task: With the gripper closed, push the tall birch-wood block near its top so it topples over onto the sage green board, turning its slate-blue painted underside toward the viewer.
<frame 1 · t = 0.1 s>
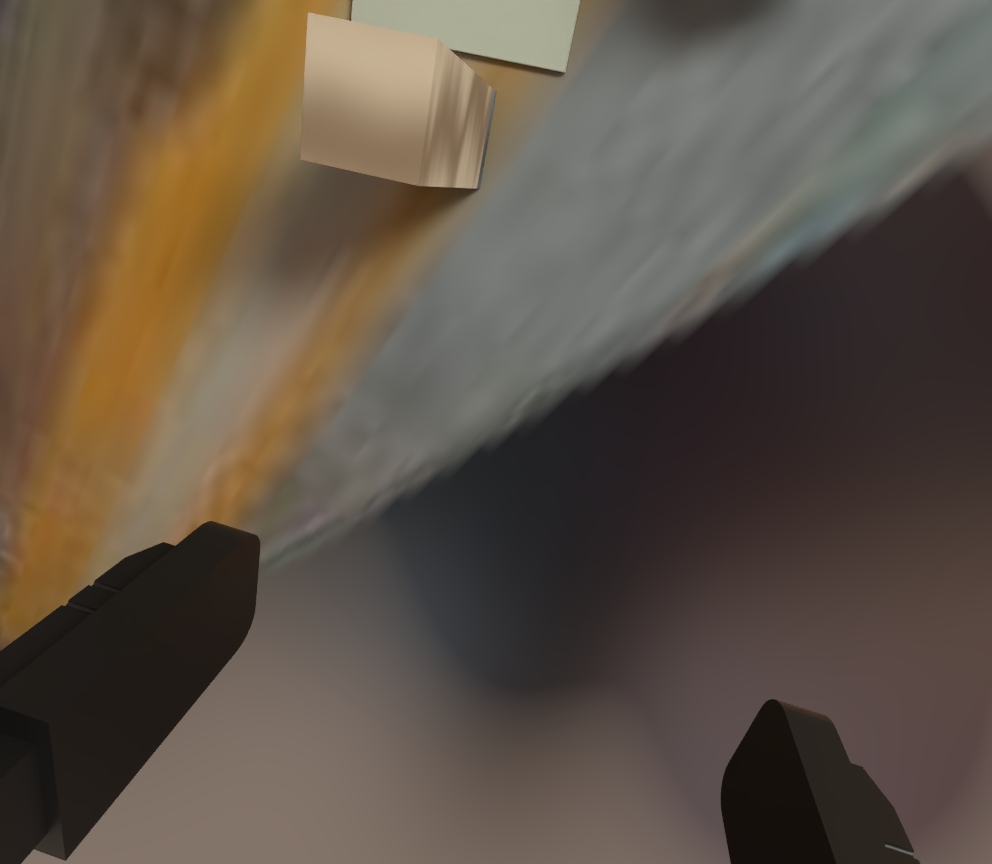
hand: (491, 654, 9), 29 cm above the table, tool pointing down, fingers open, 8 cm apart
birch block: (445, 132, 33), on the table
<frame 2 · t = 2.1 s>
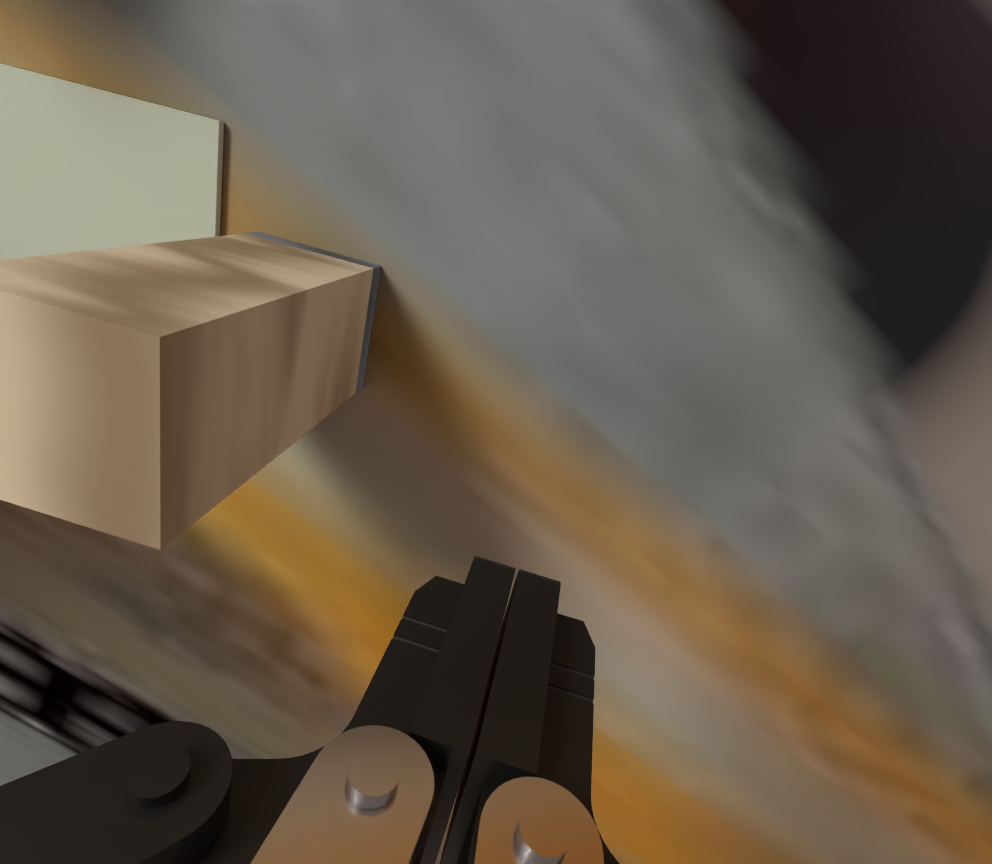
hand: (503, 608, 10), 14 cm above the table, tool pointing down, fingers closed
birch block: (312, 312, 23), on the table
board: (70, 244, 24), on the table
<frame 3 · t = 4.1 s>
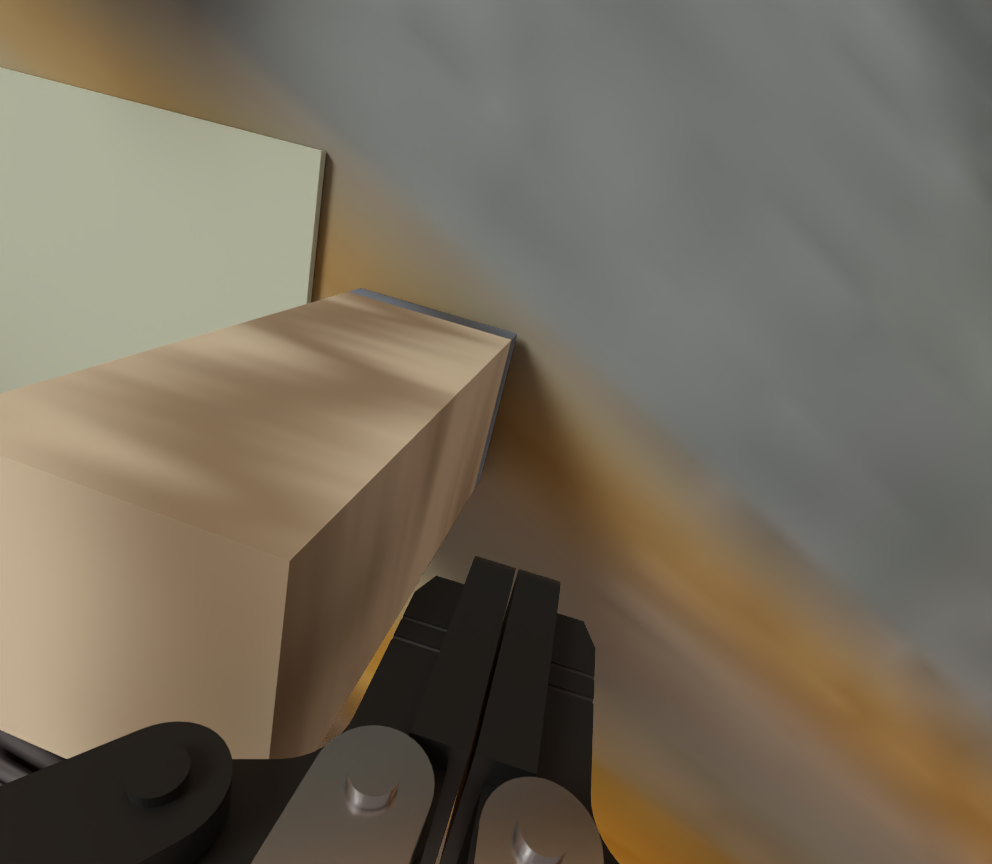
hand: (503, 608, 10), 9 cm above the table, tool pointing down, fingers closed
birch block: (422, 387, 18), on the table, touching gripper
board: (121, 300, 19), on the table
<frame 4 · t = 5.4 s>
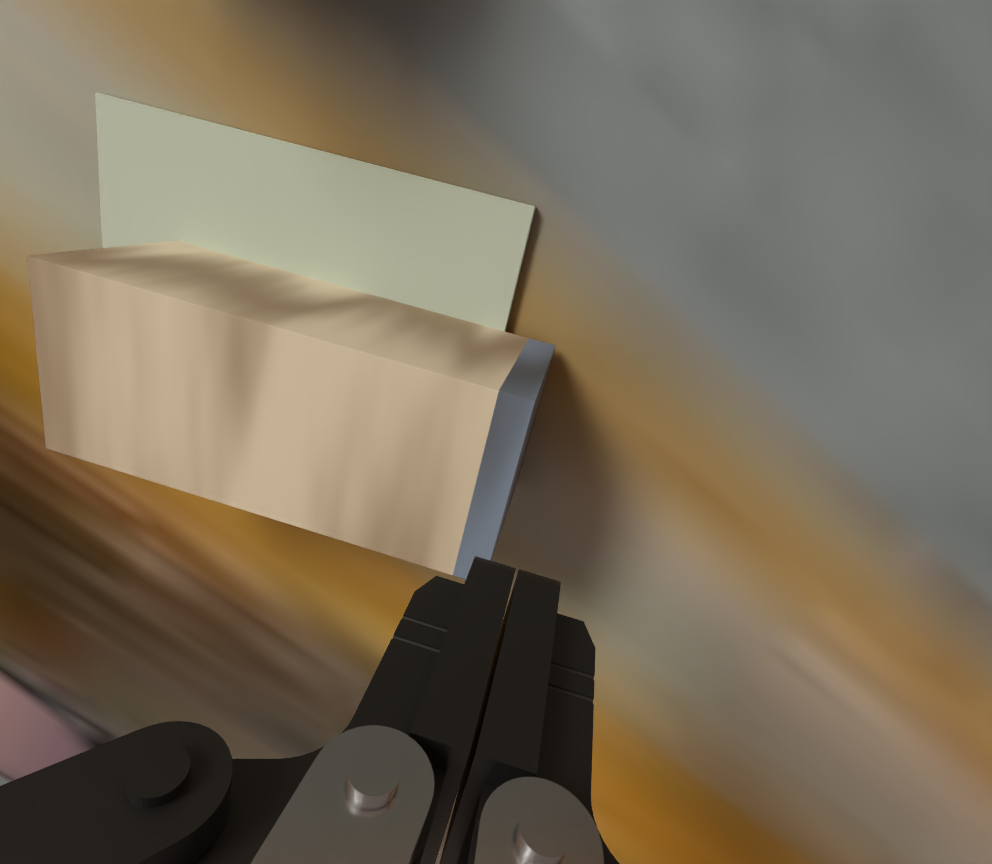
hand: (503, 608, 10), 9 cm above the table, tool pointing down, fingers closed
birch block: (522, 455, 16), point 3 cm above the table, tilted 90°, touching board
board: (294, 349, 19), on the table
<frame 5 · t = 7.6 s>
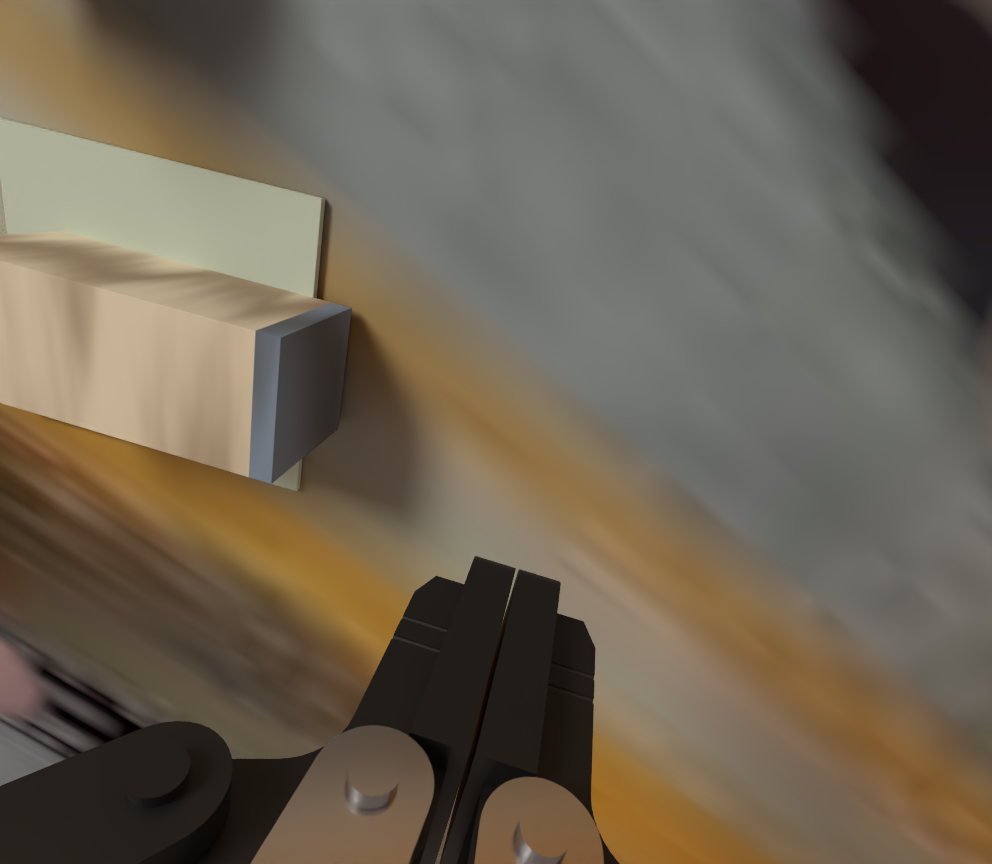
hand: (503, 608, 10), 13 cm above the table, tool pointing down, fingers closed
birch block: (314, 390, 20), point 3 cm above the table, tilted 90°, touching board
board: (161, 317, 24), on the table
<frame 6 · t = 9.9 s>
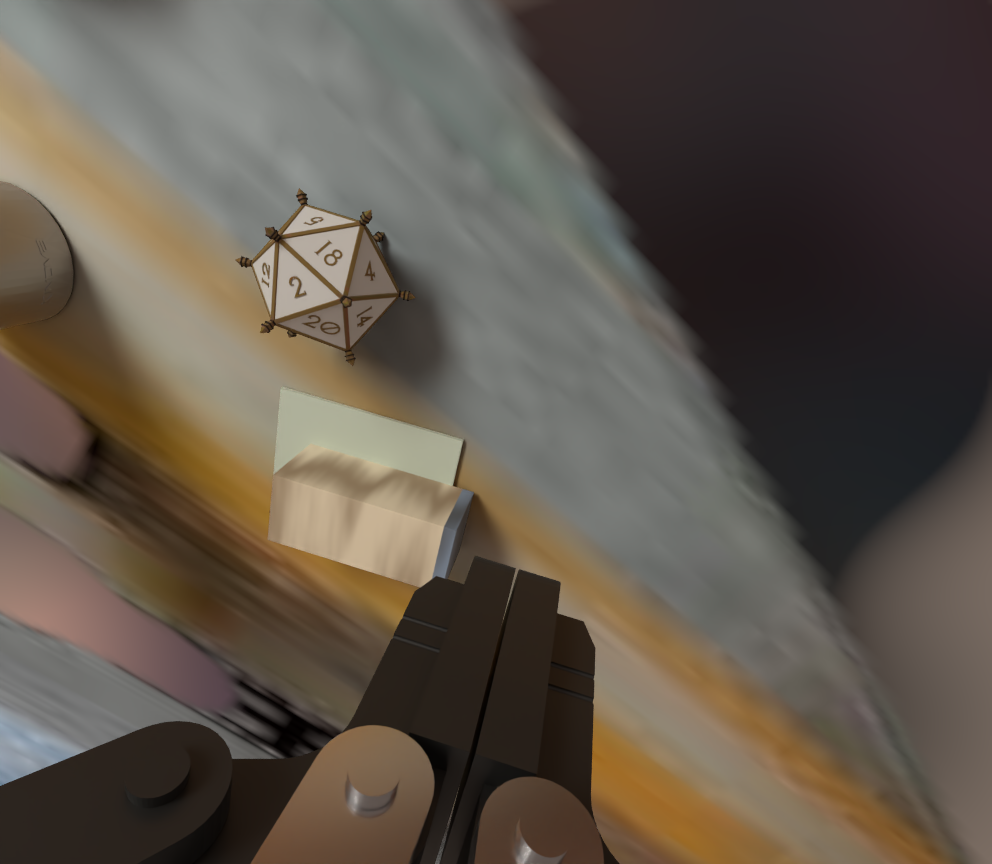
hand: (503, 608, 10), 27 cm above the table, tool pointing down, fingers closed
birch block: (457, 541, 39), point 3 cm above the table, tilted 90°, touching board
game die: (356, 270, 36), on the table
board: (360, 487, 42), on the table
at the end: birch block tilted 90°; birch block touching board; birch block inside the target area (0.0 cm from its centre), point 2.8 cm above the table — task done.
